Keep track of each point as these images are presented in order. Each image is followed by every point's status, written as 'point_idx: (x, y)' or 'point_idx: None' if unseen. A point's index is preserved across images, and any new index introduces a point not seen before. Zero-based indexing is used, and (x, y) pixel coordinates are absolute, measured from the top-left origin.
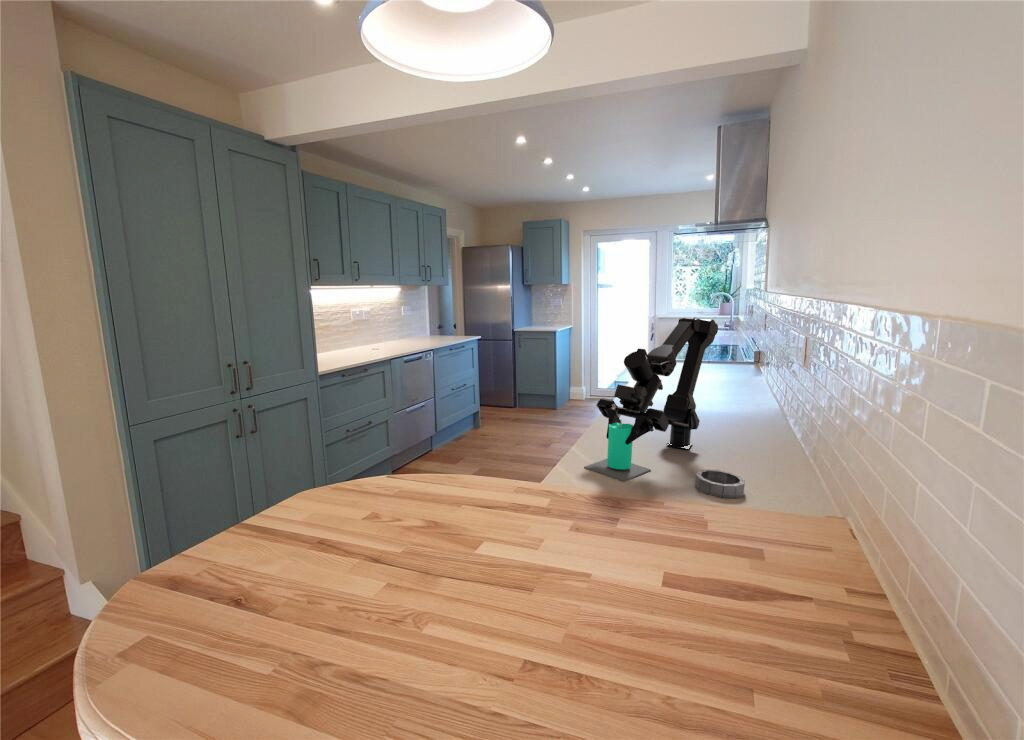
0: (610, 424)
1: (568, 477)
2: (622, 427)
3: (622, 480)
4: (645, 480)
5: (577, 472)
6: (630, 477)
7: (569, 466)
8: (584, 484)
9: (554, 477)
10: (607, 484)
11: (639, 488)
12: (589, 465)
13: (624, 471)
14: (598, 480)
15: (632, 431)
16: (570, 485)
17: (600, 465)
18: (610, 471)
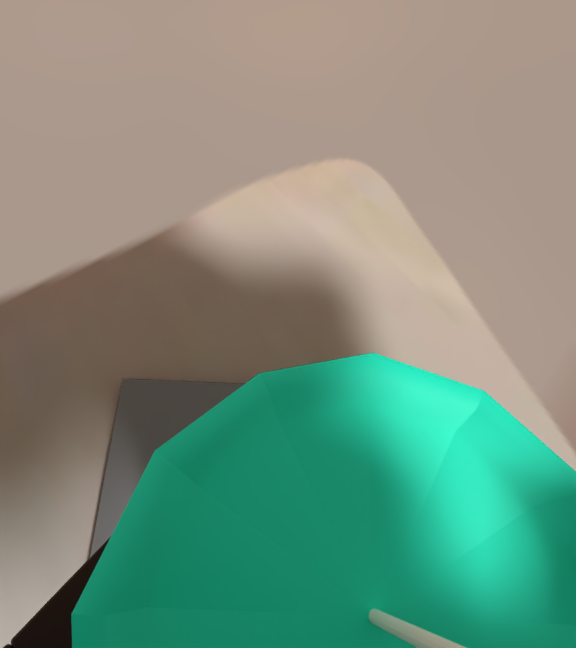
0: (569, 505)
1: (365, 238)
2: (341, 629)
3: (135, 379)
4: (15, 527)
5: (389, 316)
6: (113, 458)
7: (479, 356)
8: (262, 222)
9: (400, 202)
10: (182, 291)
11: (6, 366)
12: None
13: None
14: (247, 303)
15: (61, 624)
16: (296, 179)
17: None
18: None
